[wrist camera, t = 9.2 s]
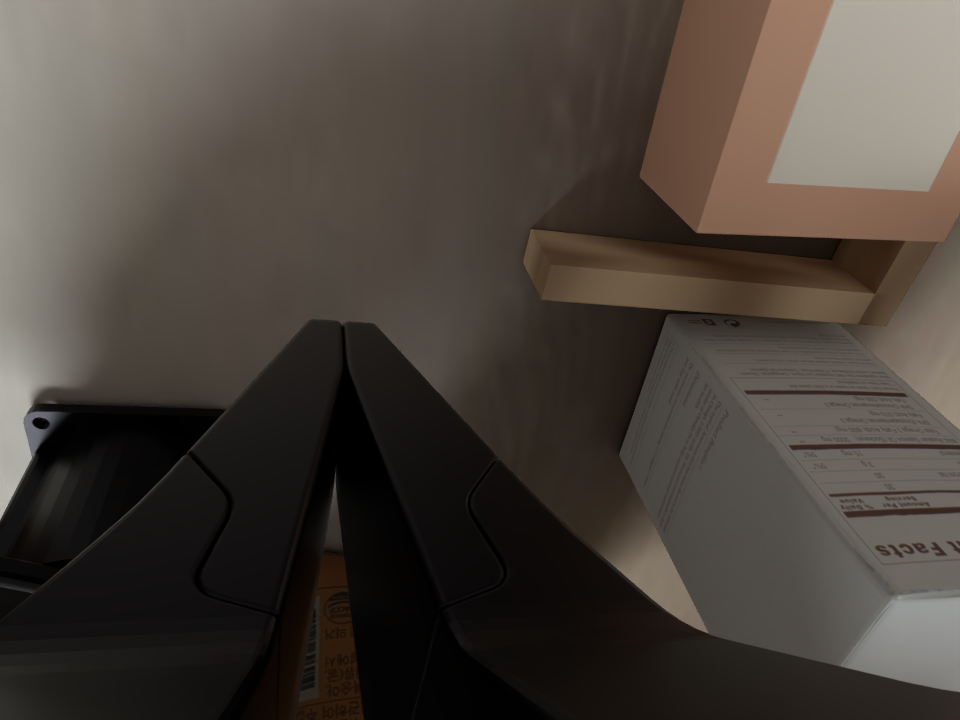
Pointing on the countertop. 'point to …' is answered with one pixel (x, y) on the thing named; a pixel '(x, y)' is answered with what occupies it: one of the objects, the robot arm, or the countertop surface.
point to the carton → (811, 119)
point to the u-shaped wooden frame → (726, 277)
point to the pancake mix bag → (331, 651)
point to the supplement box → (803, 494)
